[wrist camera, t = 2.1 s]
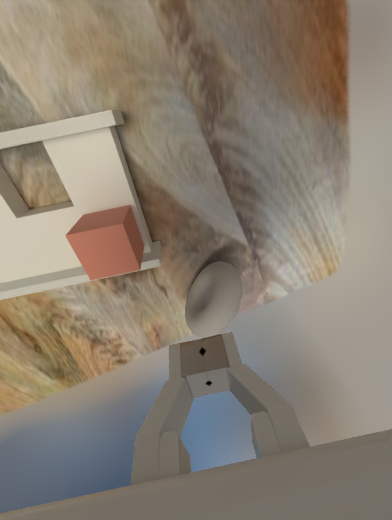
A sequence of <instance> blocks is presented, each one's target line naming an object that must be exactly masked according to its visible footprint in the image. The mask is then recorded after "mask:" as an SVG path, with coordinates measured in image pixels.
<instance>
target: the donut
mask: <svg viewBox="0 0 392 520" xmlns="http://www.w3.org/2000/svg"><path fill="white" fill-rule="evenodd" d="M241 297H242V283H241V278H240V274H239V273H238V271H237V270H236V269H235V267H234V266H233V265H231V264H230V263H226V262H223V261H217V262H214V263H211V264H209V265H208V266H206V267H205V268H204V269H203V270H202V271H201V272H200V273H199V275H198V276H197V277H196V279H195V281H194V282H193V284H192V286H191V288H190V291H189V294H188V297H187V301H186V307H185V318H186V322H187V325H188V327H189V329H190V330H191V331H192V333H193V334H195V335H196V336H199V337H202V338H206V337H210V336H215V335H219V334H220V333H221V332H222V331H223V330H225V329H226V328H227V327H228V326H229V324H230V323H231V322H232V320H233V319H234V317H235V315H236V312H237V310H238V308H239V305H240V301H241Z"/></svg>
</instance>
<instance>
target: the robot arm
mask: <svg viewBox="0 0 392 520" xmlns="http://www.w3.org/2000/svg"><path fill="white" fill-rule="evenodd" d="M228 390H230V391H231V392H232V394H233V395H234V396H235V397H236V398H237V399H238V401H239V402H240V403H241V404H242V405H243V406H244V408H245V409H246V410H247V411H248V412H249V414H250V415H251V429H252V442H253V446H254V450H255V454H256V457H257V458H256V459H251V460H247V461H242V462H238V463H233V464H228V465H224V466H219V467H215V468H210V469H205V470H200V471H196V472H191V462H190V455H189V453H188V451H187V449H186V448H185V446H184V444H183V442H182V440H181V439H180V436H181V433H182V430H183V427H184V425H185V421H186V419H187V416H188V413H189V411H190V408H191V405H192V403H193V400H194V399H193V398H196V397H200V396H204V395H208V394H212V393H218V392H223V391H228ZM211 392H212V393H211ZM0 520H392V429H390V430H386V431H381V432H376V433H372V434H367V435H363V436H358V437H353V438H349V439H344V440H339V441H335V442H330V443H325V444H321V445H316V446H312V447H310V446H309V443H308V441H307V439H306V437H305V434H304V432H303V430H302V428H301V426H300V423H299V421H298V418H297V416H296V414H295V412H294V409H293V407H292V405H291V404H290V403H289V402H288V401H287V400H286V399H285V398H284V397H282V396H281V395H280V394H279V393H278V392H277V391H276V390H275V389H273V388H272V387H271V386H270V385H269V384H268V383H267V382H265V381H264V380H263V379H262V378H261V377H260V376H259V375H258V374H256V373H255V372H254V371H253V370H252V369H251V368H250V367H249V366H247V365H246V364H242V362H241V358H240V355H239V352H238V349H237V346H236V342H235V339H234V336H233V334H232V332H229V333H225V334H219V335H215V336H210V337H206V338H202V339H199V340H194V341H188V342H183V343H178V344H173V345H169V380H168V381H166V382H165V384H164V386H163V387H162V389H161V391H160V393H159V395H158V397H157V399H156V400H155V402H154V404H153V406H152V408H151V410H150V412H149V413H148V415H147V417H146V419H145V421H144V423H143V424H142V426H141V428H140V430H139V432H138V434H137V436H136V438H135V446H134V457H133V468H132V477H131V486H127V487H122V488H117V489H112V490H108V491H103V492H98V493H94V494H89V495H85V496H80V497H76V498H71V499H66V500H61V501H57V502H52V503H48V504H43V505H38V506H34V507H29V508H24V509H20V510H15V511H11V512H6V513H1V514H0Z"/></svg>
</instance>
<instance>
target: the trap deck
mask: <svg viewBox="0 0 392 520" xmlns="http://www.w3.org/2000/svg"><path fill="white" fill-rule="evenodd" d="M122 124H125V123H124V120H123V116H122V113H121V112H120V111H115V110H108V111H103V112H98V113H94V114H89V115H84V116H79V117H74V118H69V119H65V120H60V121H55V122H50V123H45V124H40V125H35V126H31V127H26V128H21V129H16V130H11V131H6V132H1V133H0V150H1V149H6V148H11V147H16V146H21V145H25V144H30V143H35V142H40V141H42V142H43V144H44V146H45V148H46V150H47V152H48V154H49V156H50V158H51V160H52V162H53V164H54V166H55V169H56V171H57V173H58V175H59V177H60V179H61V181H62V183H63V185H64V187H65V189H66V191H67V193H68V195H69V197H70V199H71V201H70V202H65V203H60V204H55V205H50V206H46V207H41V208H36V209H31V210H29V209H28V207H27V205H26V204H25V202H24V200H23V199H22V197H21V196H20V194H19V192H18V191H17V189H16V188H15V186H14V184H13V183H12V181H11V180H10V178H9V176H8V175H7V173H6V171H5V170H4V168H3V167H2V165H1V163H0V300H2V299H7V298H11V297H16V296H21V295H26V294H31V293H35V292H40V291H45V290H50V289H54V288H59V287H64V286H69V285H73V284H78V283H83V282H88V281H93V280H90V279H89V277H88V275H87V273H86V272H85V270H84V268H83V266H82V265H81V263H80V261H79V259H78V257H77V256H76V254H75V252H74V250H73V249H72V247H71V245H70V243H69V241H68V240H67V238H66V236H65V235H66V234H67V233H68V232H69V231H70V229H71V228H72V227H73V226H74V225H75V224H76V222H77V221H78V220H79V219H80V218H81V217H82V216H83V214H88V213H93V212H98V211H102V210H107V209H112V208H117V207H122V206H126V205H131V208H132V211H133V214H134V217H135V220H136V223H137V225H138V228H139V231H140V234H141V237H142V240H143V243H144V251H143V257H142V263H141V269H140V270H145V269H150V268H155V267H159V266H161V253H162V246H161V243H160V241H155V242H152V240H151V237H150V234H149V231H148V228H147V225H146V221H145V218H144V215H143V212H142V209H141V206H140V203H139V200H138V197H137V194H136V190H135V187H134V184H133V181H132V178H131V175H130V172H129V169H128V166H127V163H126V159H125V156H124V153H123V150H122V147H121V144H120V141H119V138H118V135H117V132H116V128H115V126H117V125H122ZM140 270H138V271H140ZM133 272H136V271H133ZM128 273H131V272H128ZM123 274H126V273H123ZM119 275H121V274H119ZM114 276H116V275H114ZM109 277H112V276H109ZM104 278H107V277H104ZM100 279H102V278H100ZM95 280H97V279H95Z"/></svg>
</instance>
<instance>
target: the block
mask: <svg viewBox="0 0 392 520" xmlns="http://www.w3.org/2000/svg"><path fill="white" fill-rule="evenodd" d="M65 236H66V238H67V240H68V241H69V243H70V245H71V247H72V249H73V250H74V252H75V254H76V256H77V257H78V259H79V261H80V263H81V265H82V266H83V268H84V270H85V272H86V273H87V275H88V277H89V279H90V280H95V279H100V278H104V277H109V276H114V275H119V274H123V273H128V272H133V271H138V270H140V269H141V263H142V257H143V251H144V243H143V240H142V237H141V234H140V231H139V228H138V225H137V223H136V220H135V217H134V214H133V211H132V208H131V205H126V206H122V207H117V208H112V209H107V210H102V211H98V212H93V213H88V214H83V216H82V217H81V218H80V219H79V220H78V221H77V222H76V224H75V225H74V226H73V227H72V228H71V229H70V231H69V232H68V233H67V234H66V235H65Z"/></svg>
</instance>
